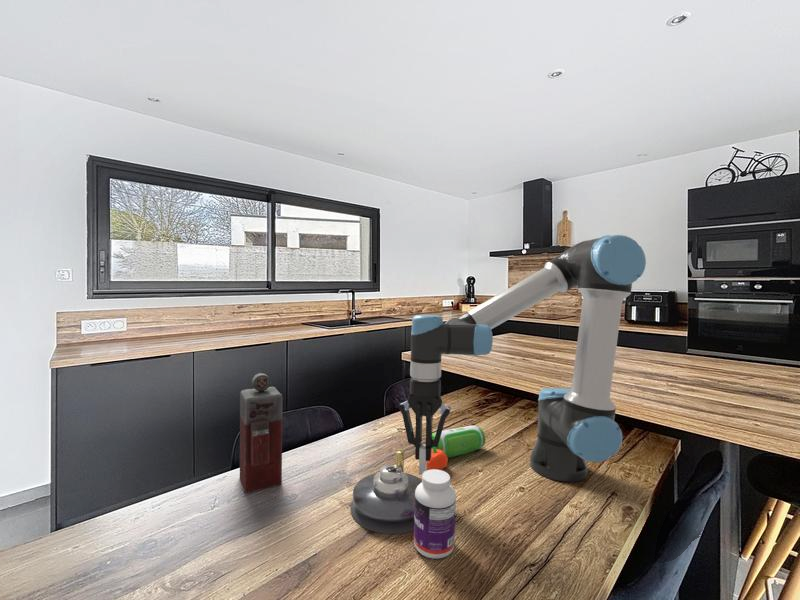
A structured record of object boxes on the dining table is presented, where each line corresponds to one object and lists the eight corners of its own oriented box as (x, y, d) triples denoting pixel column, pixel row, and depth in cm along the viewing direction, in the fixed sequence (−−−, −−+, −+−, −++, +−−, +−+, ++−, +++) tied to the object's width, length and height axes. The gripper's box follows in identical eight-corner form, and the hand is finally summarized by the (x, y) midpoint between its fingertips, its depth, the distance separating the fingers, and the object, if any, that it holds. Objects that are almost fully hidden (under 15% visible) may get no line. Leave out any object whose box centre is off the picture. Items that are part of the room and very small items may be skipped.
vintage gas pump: (246, 498, 90) (246, 382, 89) (239, 476, 100) (240, 372, 99) (284, 488, 95) (285, 378, 93) (274, 469, 104) (275, 368, 103)
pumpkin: (419, 475, 104) (417, 452, 104) (427, 462, 111) (425, 441, 111) (444, 477, 101) (442, 453, 101) (451, 464, 109) (449, 442, 109)
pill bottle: (411, 534, 78) (413, 466, 78) (449, 532, 79) (451, 465, 79) (416, 562, 70) (418, 487, 70) (458, 561, 71) (460, 486, 71)
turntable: (437, 485, 94) (438, 453, 94) (425, 530, 77) (426, 492, 76) (367, 474, 99) (368, 444, 98) (340, 515, 81) (341, 479, 81)
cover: (411, 484, 91) (411, 463, 90) (403, 503, 83) (404, 480, 83) (379, 479, 92) (379, 459, 92) (368, 497, 85) (369, 475, 84)
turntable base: (438, 491, 95) (438, 485, 95) (425, 541, 76) (425, 534, 76) (366, 480, 99) (366, 475, 99) (337, 525, 81) (337, 518, 81)
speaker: (439, 463, 110) (439, 438, 110) (426, 453, 116) (426, 429, 116) (486, 452, 118) (487, 428, 118) (471, 443, 125) (472, 421, 124)
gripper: (453, 376, 95) (450, 468, 96) (403, 372, 98) (400, 461, 99) (450, 384, 87) (447, 483, 88) (395, 379, 90) (393, 475, 91)
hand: (422, 472), depth 93 cm, fingers closed
